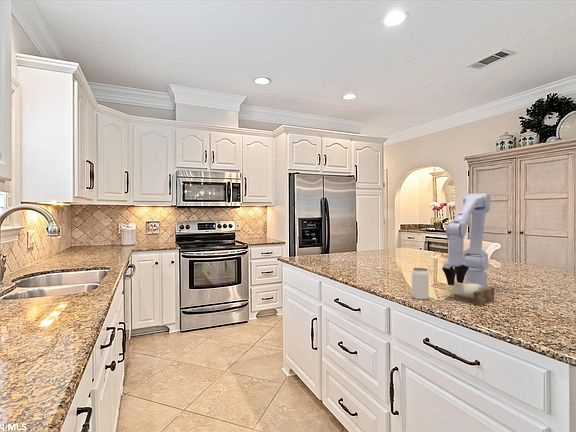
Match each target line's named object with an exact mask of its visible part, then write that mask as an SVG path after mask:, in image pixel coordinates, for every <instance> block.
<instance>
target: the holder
mask: <svg viewBox="0 0 576 432" xmlns="http://www.w3.org/2000/svg"><path fill="white" fill-rule="evenodd" d="M454 301H458V302H462V303H463V302H464V303H468V304H472V305H473V306H476V307H478V306H481V305H485V304H487V303H490V302H493V301H495V287H492V286H489V287H487V288H485V289H482V290H479V291H475V292H474V298H472V297H467V296H463V295H461V294H456V293H455V294H454Z"/></svg>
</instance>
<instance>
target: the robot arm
mask: <svg viewBox="0 0 576 432" xmlns="http://www.w3.org/2000/svg"><path fill="white" fill-rule="evenodd" d="M462 203H463V206H462V209H461V211H458V212H457V213H456V215H455V217H454V218H453V220H452V221H451V222H449V223H448V224H446V227H445V235H446V241H448V243H447V245H448V247H447V248H448V249H447V250H448V251H447V256H448V257H447V261H446V262H444V264H443V265H444V266H442V269H441V270H442V272H443V273H444V275H445V278H446V282H447V285H448V286H453V285H454V283H455V280H456V283H457V284H463V283H464V281H465V283H466V282H470V283H477V284H480V285H481V286H483V289H485V288H488V284H487V282H488V274H487V272H486V271H487V269H488V268H489V255H488V253H487V252H486V251H485V250H484V249H483V239H484V230H485V229H484V228H485V219H486V214H488V213H489V212H490V209H491V196H490V194H489V193H488V192H485V193H484V192H483V193H465V194H464V195H463V198H462ZM471 214H472V217H471ZM471 218H472V221H471ZM470 221H471V229H470V230H471V232H470V241H469V248H467V249H465V250H464V239H465V236H466V235H467V229H468V224H469V223H470ZM480 290H482V289H480Z"/></svg>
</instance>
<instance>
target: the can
mask: <svg viewBox="0 0 576 432" xmlns="http://www.w3.org/2000/svg"><path fill="white" fill-rule="evenodd" d="M429 275H430V274H429V271H428V269H427V268H423V267H414V268H412V271H411V297H412V298H413V299H415V300H420V301H426V300H428V299H429V297H430V295H429V294H430V293H429V289H430V288H429V287H430V285H429V284H430V281H429V280H430V277H429Z"/></svg>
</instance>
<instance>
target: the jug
mask: <svg viewBox="0 0 576 432" xmlns="http://www.w3.org/2000/svg"><path fill="white" fill-rule="evenodd" d="M451 286H452V285H451ZM480 289H483V286H481V285H480V284H477V283H470V282H466V281H465V282H463V283H457V282H456V283H455V282H454V285H453V286H452V291H451V292H452V294H455V295H456V294H457V295H462V296H467V297H472V298H474V292H475V291H479V290H480Z"/></svg>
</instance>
